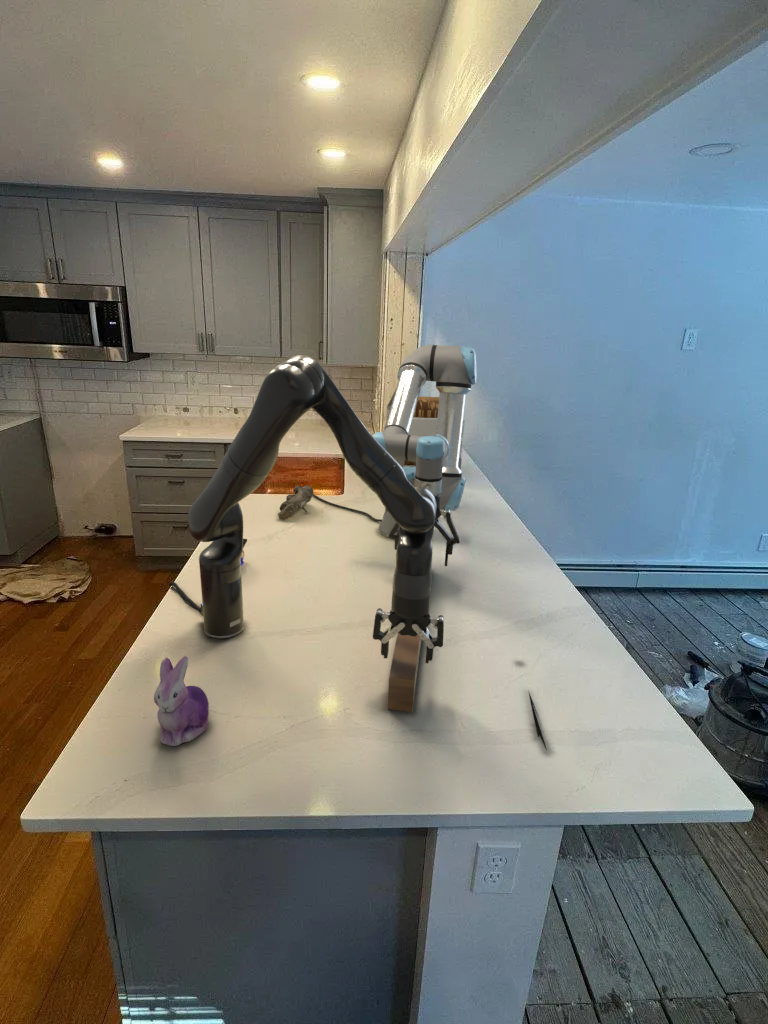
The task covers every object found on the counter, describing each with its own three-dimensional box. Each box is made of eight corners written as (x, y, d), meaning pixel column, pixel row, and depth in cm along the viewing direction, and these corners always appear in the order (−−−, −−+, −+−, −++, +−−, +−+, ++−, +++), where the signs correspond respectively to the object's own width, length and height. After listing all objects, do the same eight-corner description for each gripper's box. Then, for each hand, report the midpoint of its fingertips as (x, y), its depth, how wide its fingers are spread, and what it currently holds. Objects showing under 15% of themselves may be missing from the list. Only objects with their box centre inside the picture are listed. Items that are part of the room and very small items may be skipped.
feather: (520, 667, 129) (525, 661, 129) (546, 754, 103) (553, 747, 102) (514, 663, 129) (519, 657, 129) (538, 750, 103) (545, 742, 102)
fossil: (283, 491, 225) (311, 471, 220) (299, 509, 228) (327, 489, 223) (268, 515, 206) (298, 494, 201) (285, 535, 209) (316, 514, 204)
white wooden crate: (382, 463, 289) (386, 382, 275) (445, 464, 293) (451, 384, 279) (390, 482, 257) (394, 392, 243) (460, 483, 261) (468, 394, 247)
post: (413, 569, 173) (414, 546, 171) (429, 570, 173) (431, 548, 170) (387, 709, 112) (389, 677, 110) (412, 712, 112) (414, 680, 109)
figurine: (161, 756, 98) (153, 683, 93) (154, 719, 106) (146, 651, 101) (216, 740, 102) (211, 669, 97) (205, 705, 111) (200, 639, 106)
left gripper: (373, 594, 109) (369, 665, 114) (447, 601, 107) (440, 673, 113) (378, 576, 116) (375, 644, 121) (448, 583, 114) (441, 652, 120)
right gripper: (381, 493, 155) (378, 563, 163) (472, 500, 153) (465, 571, 160) (384, 485, 162) (381, 552, 170) (472, 492, 159) (465, 560, 167)
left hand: (406, 658), depth 117 cm, fingers open, 8 cm apart
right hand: (422, 562), depth 165 cm, fingers open, 13 cm apart
